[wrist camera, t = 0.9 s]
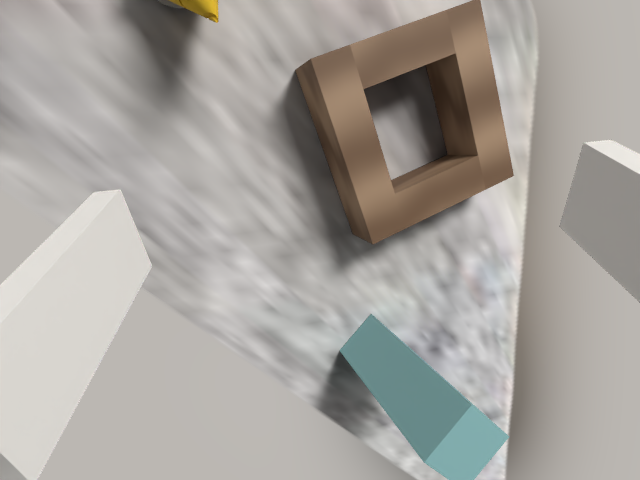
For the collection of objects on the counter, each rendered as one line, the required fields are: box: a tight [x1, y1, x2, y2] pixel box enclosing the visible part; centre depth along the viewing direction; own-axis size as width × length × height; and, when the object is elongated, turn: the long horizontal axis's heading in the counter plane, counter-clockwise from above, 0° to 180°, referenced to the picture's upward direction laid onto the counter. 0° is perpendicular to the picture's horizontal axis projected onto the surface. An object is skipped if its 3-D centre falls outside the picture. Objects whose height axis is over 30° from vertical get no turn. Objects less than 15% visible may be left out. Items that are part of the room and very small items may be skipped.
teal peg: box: [340, 314, 509, 480], centre depth 31 cm, size 4×4×14 cm
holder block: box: [295, 0, 514, 244], centre depth 31 cm, size 14×14×4 cm
